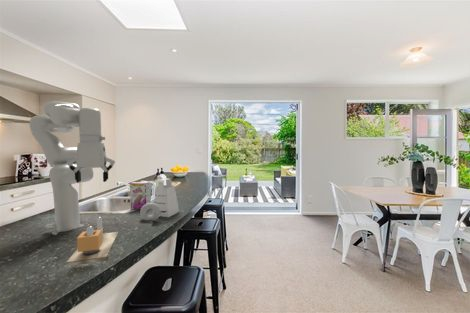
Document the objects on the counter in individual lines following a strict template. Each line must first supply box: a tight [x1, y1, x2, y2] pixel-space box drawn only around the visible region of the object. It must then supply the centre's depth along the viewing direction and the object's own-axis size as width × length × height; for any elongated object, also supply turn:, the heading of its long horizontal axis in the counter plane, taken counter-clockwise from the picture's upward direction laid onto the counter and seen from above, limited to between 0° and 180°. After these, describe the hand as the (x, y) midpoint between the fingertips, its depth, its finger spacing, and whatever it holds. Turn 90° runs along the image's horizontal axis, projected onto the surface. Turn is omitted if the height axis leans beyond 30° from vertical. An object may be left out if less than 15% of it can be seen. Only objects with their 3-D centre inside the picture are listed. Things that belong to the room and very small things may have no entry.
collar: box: [76, 229, 103, 252], centre depth 88 cm, size 6×6×5 cm
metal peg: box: [83, 225, 99, 256], centre depth 88 cm, size 5×5×10 cm
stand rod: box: [96, 216, 104, 237], centre depth 102 cm, size 2×2×9 cm
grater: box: [152, 177, 180, 218], centre depth 140 cm, size 10×10×20 cm
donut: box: [139, 202, 160, 222], centre depth 126 cm, size 10×4×10 cm, turn 106°
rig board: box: [66, 231, 119, 267], centre depth 95 cm, size 12×25×2 cm, turn 17°
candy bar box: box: [129, 181, 151, 210], centre depth 153 cm, size 11×5×16 cm, turn 77°
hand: (92, 181), depth 100 cm, fingers open, 9 cm apart
